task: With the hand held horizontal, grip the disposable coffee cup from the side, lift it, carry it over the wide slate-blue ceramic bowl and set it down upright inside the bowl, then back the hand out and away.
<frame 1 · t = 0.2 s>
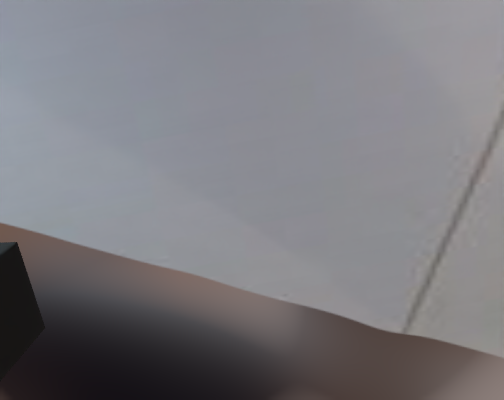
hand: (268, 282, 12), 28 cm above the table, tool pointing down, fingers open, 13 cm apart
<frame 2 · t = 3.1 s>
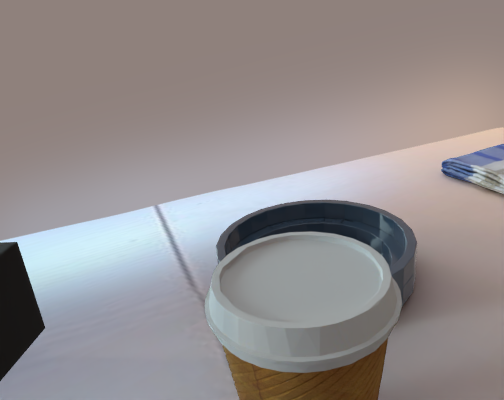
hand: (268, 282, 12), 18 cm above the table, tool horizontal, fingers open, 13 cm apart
bowl: (315, 277, 44), on the table
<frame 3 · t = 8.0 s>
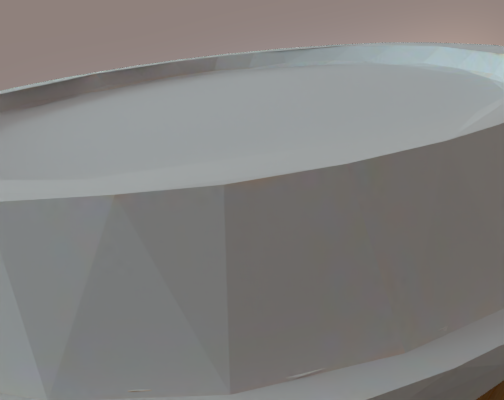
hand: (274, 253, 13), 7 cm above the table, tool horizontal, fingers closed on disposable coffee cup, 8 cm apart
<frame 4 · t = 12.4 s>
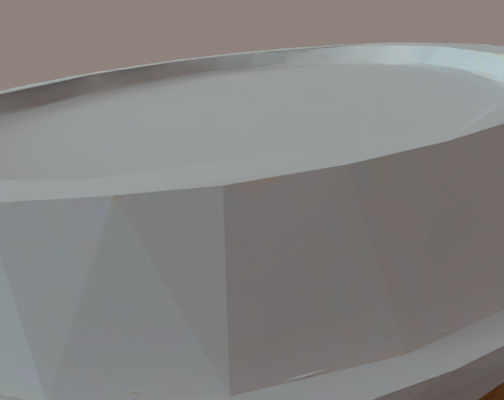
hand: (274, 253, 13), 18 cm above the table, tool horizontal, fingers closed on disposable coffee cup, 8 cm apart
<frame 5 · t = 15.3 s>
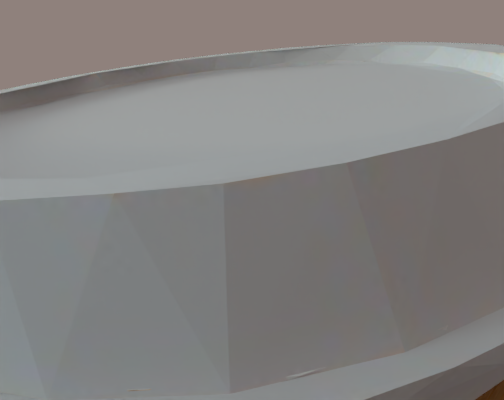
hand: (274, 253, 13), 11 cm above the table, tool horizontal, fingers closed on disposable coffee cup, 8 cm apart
when the fingers open (7 cm above the table, at t = 17.1 s): disposable coffee cup stays where it is, resting on bowl.
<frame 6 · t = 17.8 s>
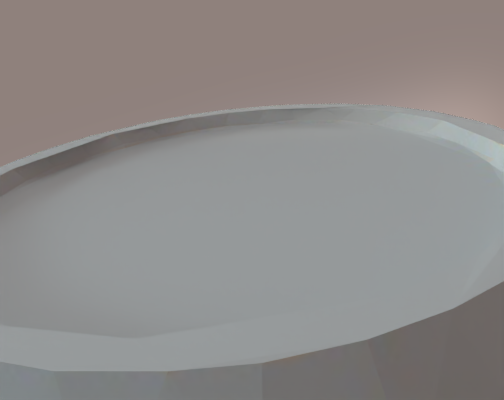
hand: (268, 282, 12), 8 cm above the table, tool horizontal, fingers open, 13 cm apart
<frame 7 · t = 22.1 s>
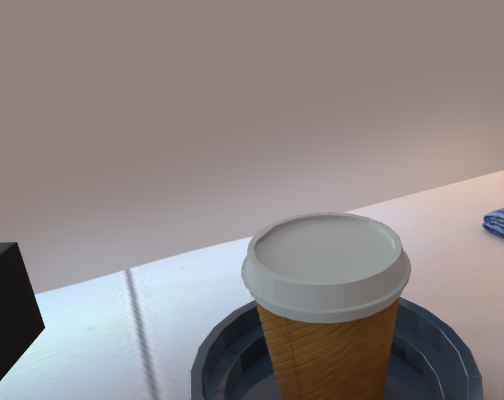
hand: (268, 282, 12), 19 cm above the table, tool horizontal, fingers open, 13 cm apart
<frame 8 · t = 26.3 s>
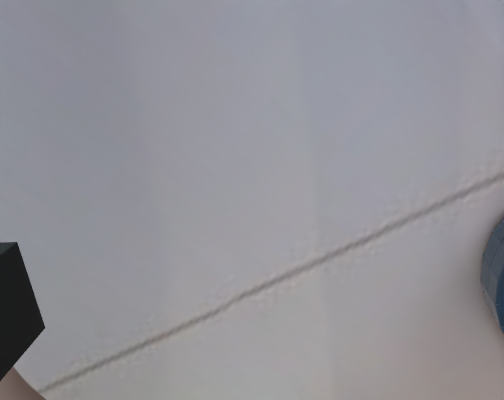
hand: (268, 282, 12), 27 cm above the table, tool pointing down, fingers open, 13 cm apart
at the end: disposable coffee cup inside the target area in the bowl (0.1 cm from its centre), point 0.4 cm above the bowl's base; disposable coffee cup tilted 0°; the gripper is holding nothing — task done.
